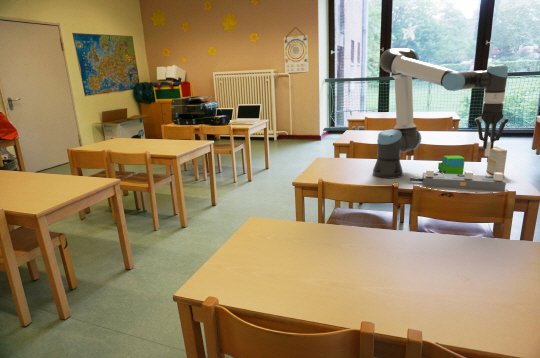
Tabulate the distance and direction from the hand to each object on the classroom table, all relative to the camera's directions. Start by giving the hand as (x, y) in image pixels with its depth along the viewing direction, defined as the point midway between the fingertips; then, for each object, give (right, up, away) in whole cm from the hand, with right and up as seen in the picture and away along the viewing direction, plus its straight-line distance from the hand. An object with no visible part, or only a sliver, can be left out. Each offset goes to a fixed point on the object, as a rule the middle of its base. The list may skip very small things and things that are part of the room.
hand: (486, 155), depth 165 cm
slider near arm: (-21, -10, +11) cm, 26 cm away
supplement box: (+20, -8, +26) cm, 33 cm away
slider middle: (-6, -11, +6) cm, 13 cm away
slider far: (+6, -11, +2) cm, 13 cm away
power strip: (-9, -13, +11) cm, 19 cm away
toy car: (-3, -8, +29) cm, 30 cm away
